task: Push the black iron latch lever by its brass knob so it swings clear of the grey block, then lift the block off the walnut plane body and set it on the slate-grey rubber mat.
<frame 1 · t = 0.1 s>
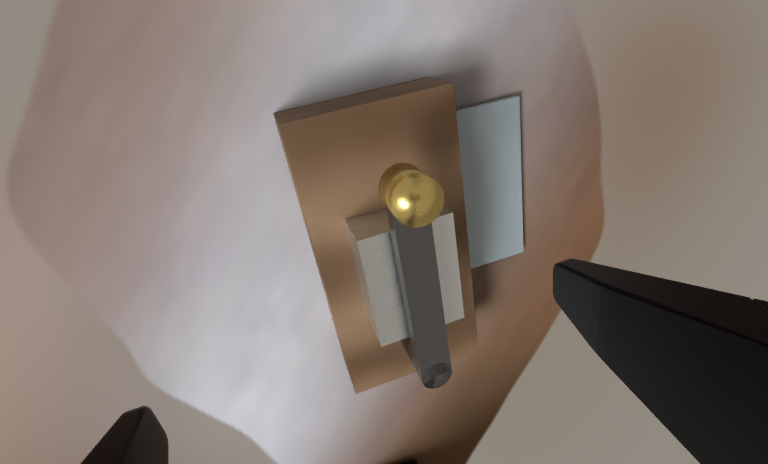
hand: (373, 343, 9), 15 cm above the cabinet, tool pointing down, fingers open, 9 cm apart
lever: (415, 281, 20), point 5 cm above the cabinet, hinge at 0.0°
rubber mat: (482, 189, 26), on the cabinet
plane body: (381, 235, 25), on the cabinet
grey block: (398, 258, 22), point 3 cm above the cabinet, touching plane body
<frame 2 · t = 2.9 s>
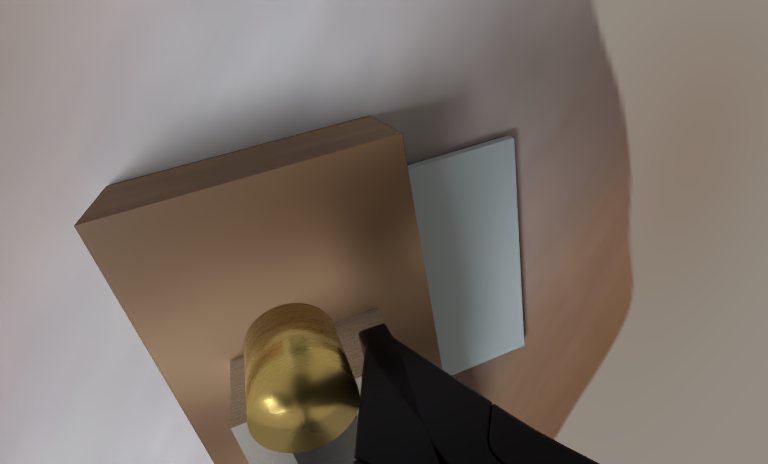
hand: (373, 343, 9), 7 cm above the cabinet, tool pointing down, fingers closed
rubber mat: (463, 269, 18), on the cabinet
plane body: (314, 345, 17), on the cabinet
grey block: (330, 401, 14), point 3 cm above the cabinet, touching plane body
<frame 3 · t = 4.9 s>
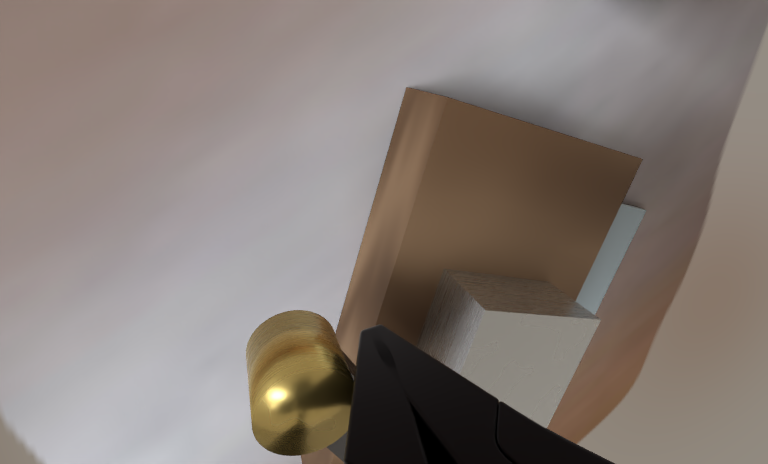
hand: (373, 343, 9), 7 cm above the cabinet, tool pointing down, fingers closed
lever: (389, 441, 12), point 6 cm above the cabinet, hinge at 47.2°, touching gripper
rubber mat: (558, 296, 21), on the cabinet
plane body: (434, 304, 18), on the cabinet
grey block: (470, 348, 16), point 3 cm above the cabinet, touching plane body
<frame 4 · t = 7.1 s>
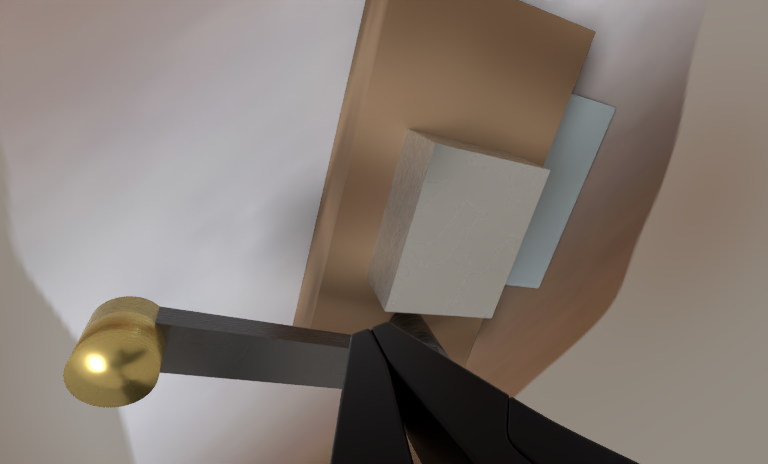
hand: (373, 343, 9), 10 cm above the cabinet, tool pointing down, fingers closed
lever: (296, 342, 14), point 5 cm above the cabinet, hinge at 83.5°
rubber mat: (533, 194, 22), on the cabinet
plane body: (411, 192, 20), on the cabinet
grey block: (437, 215, 17), point 3 cm above the cabinet, touching plane body
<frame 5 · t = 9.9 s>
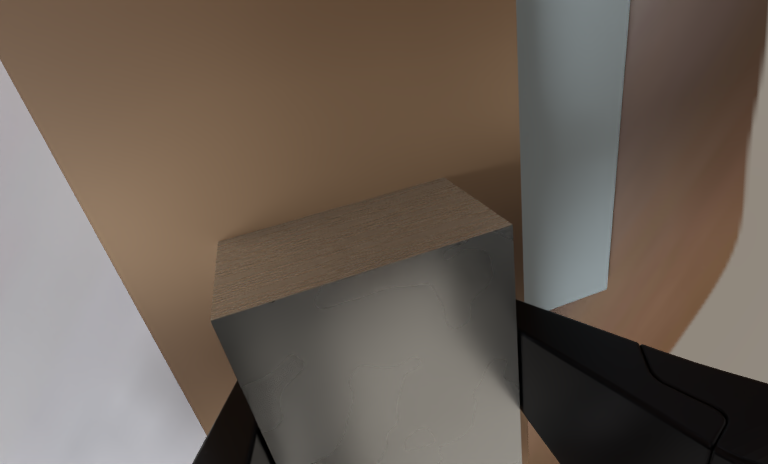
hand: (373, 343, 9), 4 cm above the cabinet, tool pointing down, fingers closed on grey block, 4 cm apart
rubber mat: (541, 172, 13), on the cabinet
plane body: (339, 265, 12), on the cabinet
grey block: (366, 328, 10), point 3 cm above the cabinet, touching gripper, plane body
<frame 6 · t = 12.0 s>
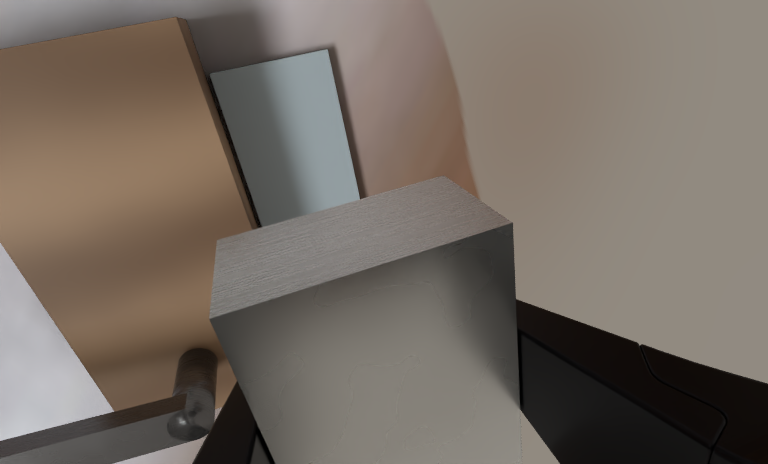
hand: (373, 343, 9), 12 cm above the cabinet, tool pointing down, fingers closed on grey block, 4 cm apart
lever: (43, 441, 16), point 6 cm above the cabinet, hinge at 83.6°
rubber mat: (301, 174, 20), on the cabinet
plane body: (162, 233, 19), on the cabinet
grey block: (366, 327, 10), point 12 cm above the cabinet, touching gripper
when the fingers open (3 cm above the cabinet, at t = 13.9 s): grey block drops 3 cm, resting on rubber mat.
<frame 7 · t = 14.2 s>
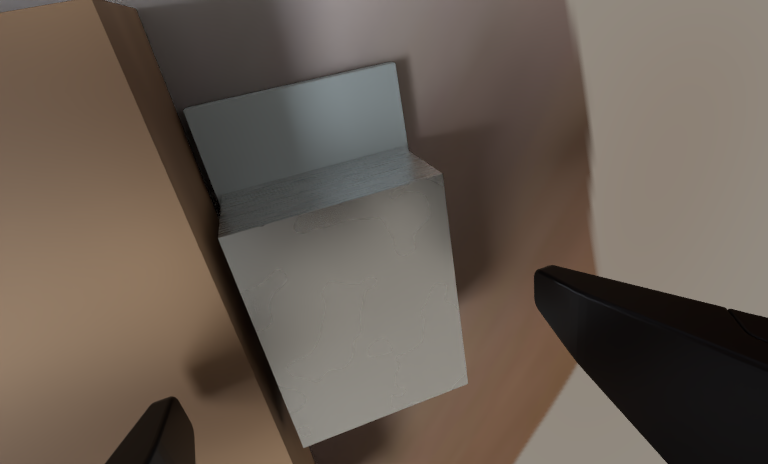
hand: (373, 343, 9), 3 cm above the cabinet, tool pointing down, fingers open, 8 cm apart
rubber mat: (339, 265, 12), on the cabinet
plane body: (109, 371, 11), on the cabinet
grey block: (342, 271, 12), resting on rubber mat
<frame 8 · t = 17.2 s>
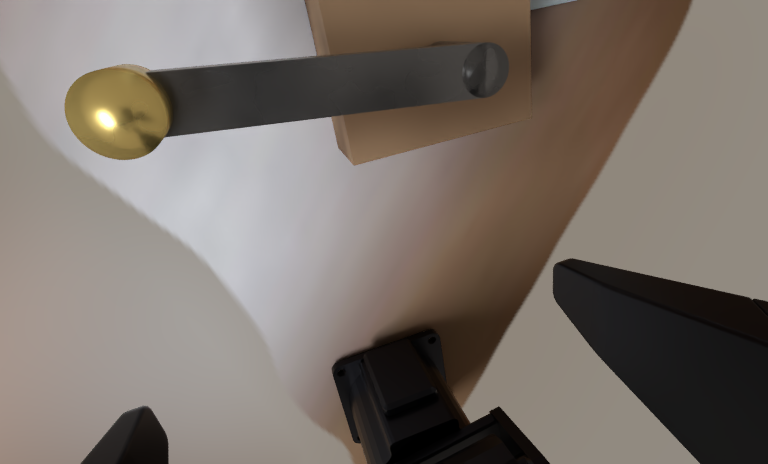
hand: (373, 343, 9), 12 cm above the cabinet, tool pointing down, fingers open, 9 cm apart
lever: (315, 84, 13), point 5 cm above the cabinet, hinge at 83.6°
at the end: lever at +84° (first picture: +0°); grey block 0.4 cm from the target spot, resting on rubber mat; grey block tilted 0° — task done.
